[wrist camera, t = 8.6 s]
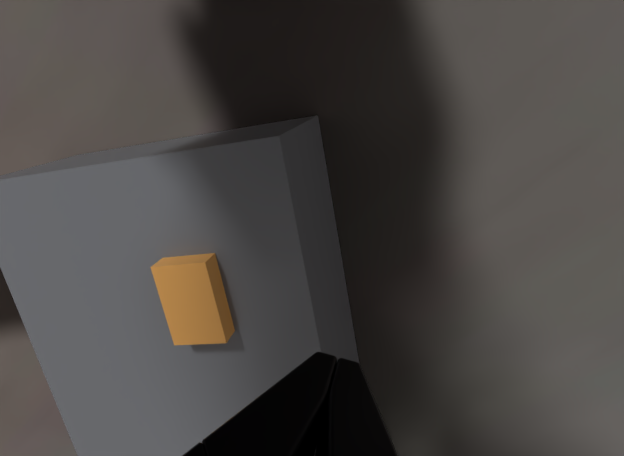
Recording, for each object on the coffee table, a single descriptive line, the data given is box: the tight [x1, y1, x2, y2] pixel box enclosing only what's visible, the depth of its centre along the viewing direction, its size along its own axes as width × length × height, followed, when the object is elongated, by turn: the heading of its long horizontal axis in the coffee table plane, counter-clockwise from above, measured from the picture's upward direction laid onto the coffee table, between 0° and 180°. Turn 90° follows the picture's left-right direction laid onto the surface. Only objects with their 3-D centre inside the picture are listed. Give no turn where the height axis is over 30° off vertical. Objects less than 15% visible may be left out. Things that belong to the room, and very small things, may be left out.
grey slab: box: [0, 115, 359, 456], centre depth 21 cm, size 21×12×7 cm, turn 10°
